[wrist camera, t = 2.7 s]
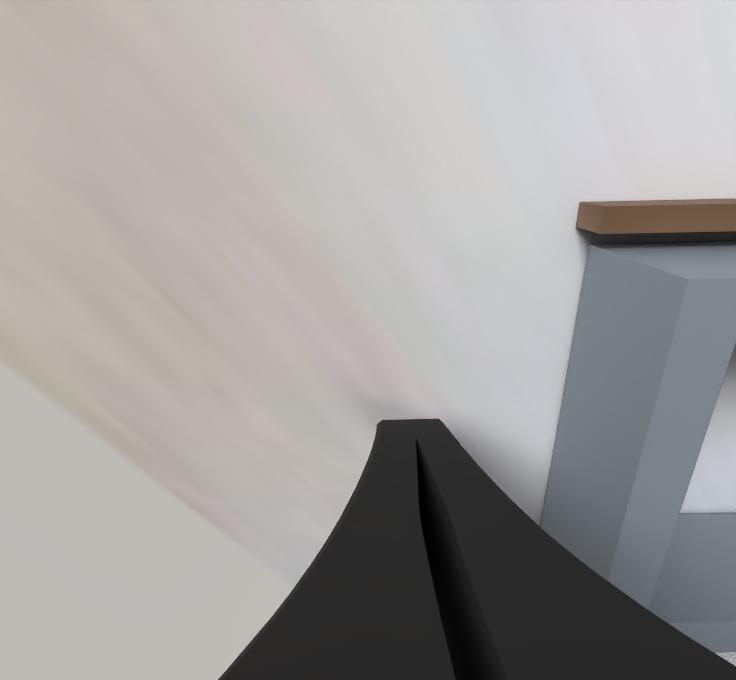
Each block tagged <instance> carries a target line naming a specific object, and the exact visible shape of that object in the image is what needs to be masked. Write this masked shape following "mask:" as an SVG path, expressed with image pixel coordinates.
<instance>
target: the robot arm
mask: <svg viewBox="0 0 736 680" xmlns="http://www.w3.org/2000/svg"><path fill="white" fill-rule="evenodd" d="M218 680H736V666H734V665H733V664H731V663H729V662H728V661H726V660H725V659H723V658H721V657H720V656H718V655H717V654H715V653H713V652H712V651H710V650H709V649H707V648H706V647H704V646H702V645H701V644H699V643H698V642H696V641H694V640H693V639H691V638H690V637H688V636H686V635H685V634H683V633H682V632H680V631H679V630H677V629H676V628H674V627H673V626H671V625H670V624H668V623H667V622H665V621H664V620H662V619H661V618H659V617H658V616H656V615H655V614H653V613H652V612H650V611H649V610H648V609H646V608H645V607H643V606H642V605H640V604H639V603H638V602H636V601H635V600H633V599H632V598H631V597H629V596H628V595H626V594H625V593H624V592H622V591H621V590H620V589H618V588H617V587H615V586H614V585H613V584H611V583H610V582H608V581H607V580H606V579H604V578H603V577H601V576H600V575H599V574H597V573H596V572H595V571H594V570H592V569H591V568H590V567H588V566H587V565H586V564H584V563H583V562H582V561H580V560H579V559H578V558H577V557H575V556H574V555H573V554H572V553H571V552H569V551H568V550H567V549H566V548H565V547H563V546H562V545H561V544H560V543H558V542H557V541H556V540H555V539H554V538H552V537H551V536H550V535H549V534H548V533H546V532H545V531H544V530H543V529H542V528H541V527H539V526H538V525H537V524H536V523H535V522H534V521H533V520H532V519H531V518H530V517H529V516H527V515H526V514H525V513H524V512H523V511H522V510H521V509H520V508H519V507H518V506H517V505H516V504H515V503H514V502H513V501H512V500H511V499H510V498H509V497H508V496H507V495H506V494H505V493H504V492H503V491H502V490H501V489H500V488H499V487H498V486H497V485H496V484H495V483H494V482H493V481H492V480H491V478H490V477H489V476H488V475H487V474H486V473H485V472H484V471H483V470H482V469H481V468H480V467H479V466H478V464H477V463H476V462H475V461H474V460H473V459H472V458H471V456H470V455H469V454H468V453H467V452H466V451H465V449H464V448H463V447H462V446H461V445H460V443H459V442H458V441H457V440H456V438H455V437H454V436H453V435H452V433H451V432H450V431H449V430H448V428H447V427H446V426H445V425H444V423H443V422H442V421H441V420H440V419H409V420H382V421H380V422H379V423H378V424H377V430H376V436H375V440H374V443H373V447H372V450H371V453H370V455H369V458H368V461H367V463H366V466H365V468H364V470H363V473H362V475H361V477H360V480H359V482H358V484H357V486H356V488H355V490H354V492H353V494H352V496H351V498H350V500H349V502H348V504H347V506H346V508H345V509H344V511H343V513H342V515H341V517H340V519H339V521H338V522H337V524H336V526H335V527H334V529H333V531H332V532H331V534H330V536H329V537H328V539H327V541H326V542H325V544H324V545H323V547H322V548H321V550H320V551H319V553H318V554H317V556H316V558H315V559H314V561H313V562H312V563H311V565H310V566H309V568H308V569H307V570H306V572H305V573H304V575H303V576H302V577H301V579H300V580H299V582H298V583H297V584H296V586H295V587H294V589H293V590H292V591H291V593H290V594H289V596H288V597H287V598H286V599H285V601H284V602H283V603H282V604H281V606H280V607H279V608H278V610H277V611H276V612H275V614H274V615H273V616H272V617H271V619H270V620H269V621H268V622H267V623H266V624H265V626H264V627H263V628H262V629H261V630H260V631H259V633H258V634H257V635H256V636H255V637H254V638H253V640H252V641H251V642H250V643H249V644H248V646H247V647H246V648H245V649H244V650H243V651H242V653H241V654H240V655H239V656H238V657H237V659H236V660H235V661H234V662H233V663H232V664H231V665H230V667H229V668H228V669H227V670H226V671H225V672H224V674H223V675H222V676H221V677H220V678H219V679H218Z"/></svg>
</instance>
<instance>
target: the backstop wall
mask: <svg viewBox="0 0 736 680" xmlns="http://www.w3.org/2000/svg"><path fill="white" fill-rule="evenodd" d="M576 227H578V228H581V229H584V230H588V231H591V232H595V233H598V234H625V233H671V232H717V231H736V199H698V200H652V201H607V202H580V204H579V210H578V217H577V223H576Z"/></svg>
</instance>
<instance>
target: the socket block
mask: <svg viewBox="0 0 736 680" xmlns="http://www.w3.org/2000/svg"><path fill="white" fill-rule="evenodd" d="M735 343H736V241H718V242H672V243H625V244H589V250H588V256H587V262H586V267H585V273H584V279H583V285H582V290H581V296H580V302H579V308H578V313H577V319H576V325H575V331H574V336H573V342H572V348H571V354H570V359H569V365H568V371H567V377H566V382H565V388H564V394H563V400H562V405H561V411H560V417H559V423H558V428H557V434H556V440H555V446H554V451H553V457H552V463H551V469H550V474H549V480H548V486H547V492H546V497H545V503H544V509H543V515H542V520H541V526H540V527H541V528H542V529H543V530H544V531H545V532H546V533H548V534H549V535H550V536H551V537H552V538H554V539H555V540H556V541H557V542H558V543H560V544H561V545H562V546H563V547H565V548H566V549H567V550H568V551H569V552H571V553H572V554H573V555H574V556H575V557H577V558H578V559H579V560H580V561H582V562H583V563H584V564H586V565H587V566H588V567H590V568H591V569H592V570H594V571H595V572H596V573H597V574H599V575H600V576H601V577H603V578H604V579H606V580H607V581H608V582H610V583H611V584H613V585H614V586H615V587H617V588H618V589H620V590H621V591H622V592H624V593H625V594H626V595H628V596H629V597H631V598H632V599H633V600H635V601H636V602H638V603H639V604H640V605H642V606H643V607H645V608H646V609H648V610H649V611H650V612H652V613H653V614H655V615H656V616H658V617H659V618H661V619H662V620H664V621H665V622H667V623H668V624H670V625H671V626H673V627H674V628H676V629H677V630H679V631H680V632H682V633H683V634H685V635H686V636H688V637H690V638H691V639H693V640H694V641H696V642H698V643H699V644H701V645H702V646H704V647H706V648H707V649H709V650H710V651H712V652H736V513H723V514H679V513H680V510H681V507H682V504H683V501H684V498H685V495H686V492H687V489H688V486H689V483H690V480H691V477H692V474H693V471H694V467H695V464H696V461H697V458H698V455H699V452H700V449H701V446H702V443H703V440H704V437H705V434H706V431H707V428H708V425H709V422H710V419H711V416H712V413H713V410H714V407H715V404H716V401H717V398H718V395H719V392H720V389H721V386H722V383H723V380H724V377H725V374H726V371H727V368H728V365H729V362H730V359H731V356H732V353H733V350H734V347H735Z"/></svg>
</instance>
